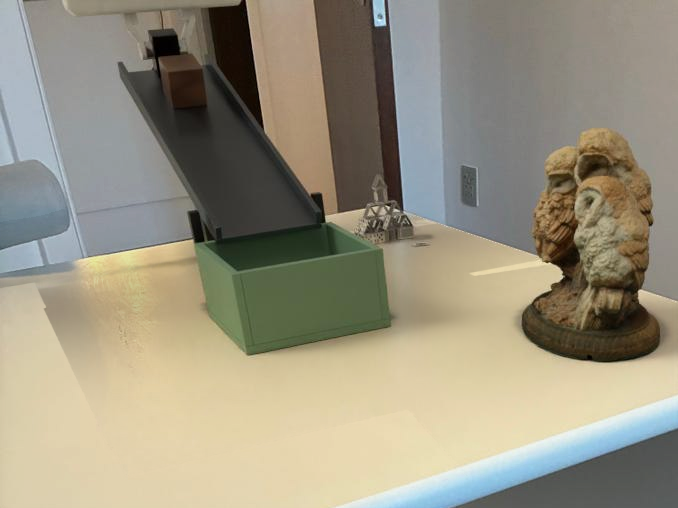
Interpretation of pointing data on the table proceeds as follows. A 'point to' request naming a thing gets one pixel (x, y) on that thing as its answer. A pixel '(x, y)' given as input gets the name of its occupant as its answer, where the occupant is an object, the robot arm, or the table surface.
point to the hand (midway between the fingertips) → (167, 57)
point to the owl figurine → (594, 252)
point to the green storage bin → (294, 287)
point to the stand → (203, 234)
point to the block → (183, 81)
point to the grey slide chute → (222, 154)
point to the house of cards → (384, 221)
